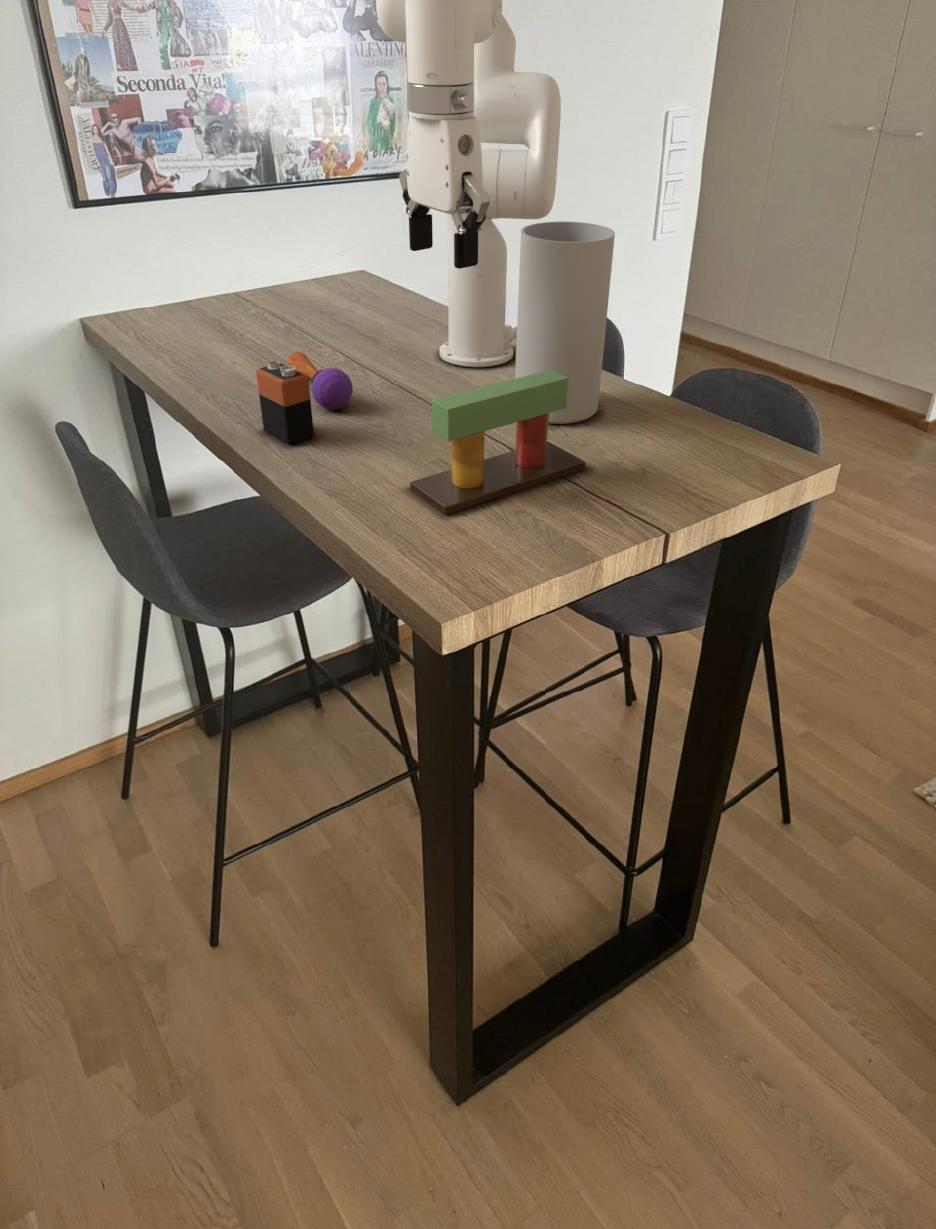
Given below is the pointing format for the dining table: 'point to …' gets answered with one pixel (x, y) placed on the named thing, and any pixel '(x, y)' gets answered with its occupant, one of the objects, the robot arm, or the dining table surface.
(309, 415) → the battery
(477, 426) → the green bar
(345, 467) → the dining table surface
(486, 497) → the rod stand
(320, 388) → the kendama
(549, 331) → the cylinder vase
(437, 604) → the dining table surface
